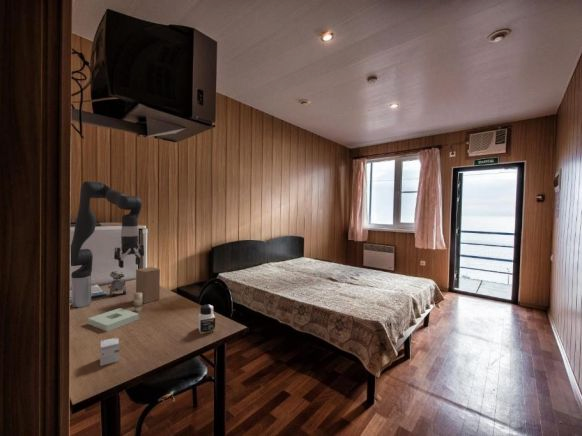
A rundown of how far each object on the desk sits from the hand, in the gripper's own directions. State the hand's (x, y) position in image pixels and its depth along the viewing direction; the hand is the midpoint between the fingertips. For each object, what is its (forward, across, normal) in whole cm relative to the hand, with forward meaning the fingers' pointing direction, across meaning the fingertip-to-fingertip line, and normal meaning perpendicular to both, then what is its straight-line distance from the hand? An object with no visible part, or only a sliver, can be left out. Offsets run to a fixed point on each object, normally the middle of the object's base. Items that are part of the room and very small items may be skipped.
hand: (129, 266), depth 138 cm
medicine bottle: (+29, -12, +41) cm, 52 cm away
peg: (+29, -11, -9) cm, 32 cm away
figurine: (+29, -22, -46) cm, 59 cm away
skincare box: (+29, +26, +27) cm, 47 cm away
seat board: (+29, +4, -6) cm, 30 cm away
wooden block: (+29, -25, -19) cm, 43 cm away
